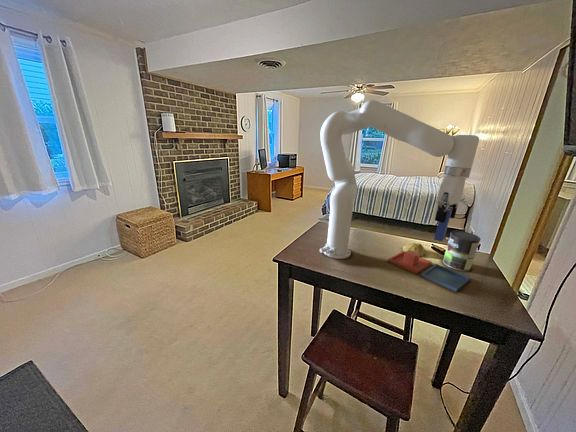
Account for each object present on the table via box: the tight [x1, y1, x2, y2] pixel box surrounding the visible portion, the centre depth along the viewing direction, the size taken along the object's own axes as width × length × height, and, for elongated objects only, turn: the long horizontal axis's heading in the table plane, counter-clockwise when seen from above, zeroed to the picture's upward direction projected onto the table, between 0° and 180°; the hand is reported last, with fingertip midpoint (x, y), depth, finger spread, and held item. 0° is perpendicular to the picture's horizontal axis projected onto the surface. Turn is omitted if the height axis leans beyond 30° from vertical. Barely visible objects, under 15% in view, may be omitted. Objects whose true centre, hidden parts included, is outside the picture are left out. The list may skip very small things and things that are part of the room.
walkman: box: [433, 205, 453, 242], centre depth 90 cm, size 8×3×12 cm, turn 141°
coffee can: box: [442, 230, 481, 271], centre depth 102 cm, size 10×10×14 cm
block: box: [402, 250, 421, 266], centre depth 103 cm, size 4×4×4 cm
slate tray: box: [420, 263, 471, 292], centre depth 93 cm, size 13×12×2 cm
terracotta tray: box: [387, 250, 432, 274], centre depth 104 cm, size 13×12×2 cm
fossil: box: [402, 242, 427, 257], centre depth 114 cm, size 11×6×10 cm
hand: (444, 219), depth 90 cm, fingers closed on walkman, 8 cm apart
